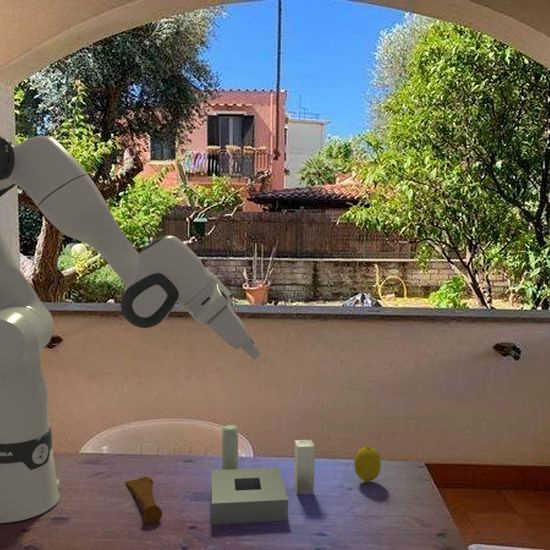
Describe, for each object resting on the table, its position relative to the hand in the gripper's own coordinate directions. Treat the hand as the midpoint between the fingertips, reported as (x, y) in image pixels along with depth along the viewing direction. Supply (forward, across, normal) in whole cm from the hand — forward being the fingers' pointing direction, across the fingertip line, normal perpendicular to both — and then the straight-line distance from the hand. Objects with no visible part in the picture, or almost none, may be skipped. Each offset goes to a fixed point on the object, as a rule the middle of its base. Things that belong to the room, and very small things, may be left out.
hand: (254, 350), depth 110 cm
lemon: (+38, +1, -2) cm, 38 cm away
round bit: (+19, -8, -23) cm, 31 cm away
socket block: (+20, +6, -21) cm, 30 cm away
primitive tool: (+7, +2, -37) cm, 37 cm away
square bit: (+28, +2, -12) cm, 31 cm away
